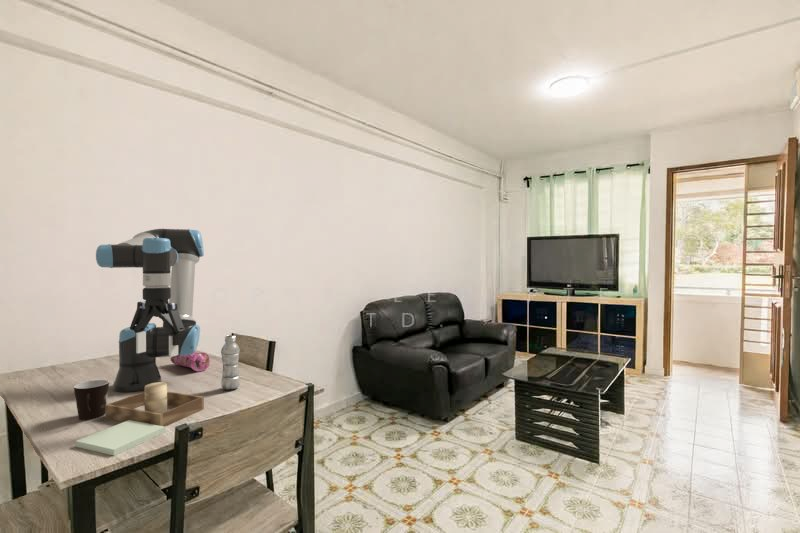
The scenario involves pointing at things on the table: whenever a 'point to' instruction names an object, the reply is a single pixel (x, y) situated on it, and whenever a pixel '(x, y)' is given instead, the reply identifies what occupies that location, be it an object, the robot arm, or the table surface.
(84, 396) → the coffee mug
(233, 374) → the plastic bottle
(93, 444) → the mint green tile
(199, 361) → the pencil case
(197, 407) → the walnut frame
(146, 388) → the light wood cylinder
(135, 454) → the table surface
